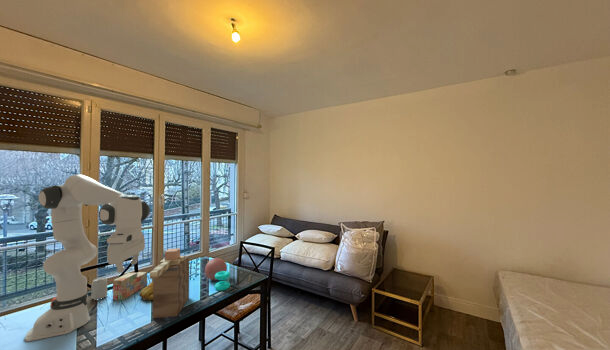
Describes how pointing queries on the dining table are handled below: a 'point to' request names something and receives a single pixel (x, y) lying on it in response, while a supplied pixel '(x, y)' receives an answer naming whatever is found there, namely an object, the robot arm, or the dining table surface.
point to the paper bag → (171, 290)
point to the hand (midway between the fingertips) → (127, 267)
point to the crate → (172, 254)
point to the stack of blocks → (128, 284)
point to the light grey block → (99, 288)
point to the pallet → (164, 266)
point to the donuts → (222, 284)
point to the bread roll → (147, 292)
